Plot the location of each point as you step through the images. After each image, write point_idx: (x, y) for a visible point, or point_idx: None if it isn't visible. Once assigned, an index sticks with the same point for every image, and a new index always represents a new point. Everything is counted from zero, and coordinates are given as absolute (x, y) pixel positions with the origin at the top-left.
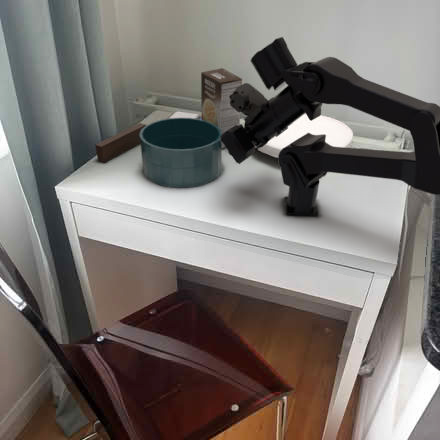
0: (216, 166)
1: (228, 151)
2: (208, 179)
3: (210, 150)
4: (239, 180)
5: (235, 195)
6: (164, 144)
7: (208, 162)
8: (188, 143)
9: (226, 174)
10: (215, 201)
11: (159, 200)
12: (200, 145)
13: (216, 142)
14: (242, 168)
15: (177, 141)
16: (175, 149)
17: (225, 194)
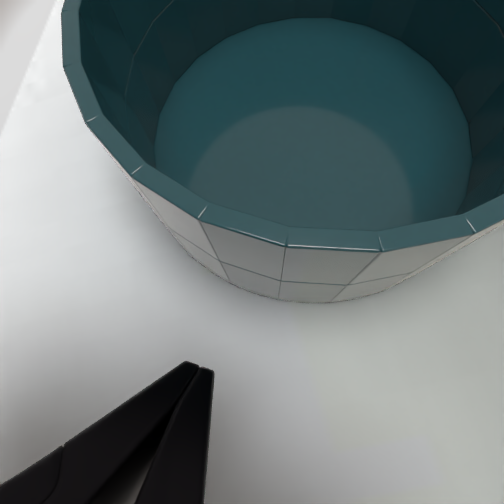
0: (264, 285)
1: (181, 365)
2: (212, 270)
3: (191, 227)
4: (275, 415)
5: None
6: (418, 8)
7: (194, 244)
8: (485, 90)
9: (317, 335)
10: (60, 345)
11: (48, 143)
12: (492, 145)
13: (259, 240)
14: (410, 404)
15: (465, 41)
16: (73, 30)
17: (126, 375)
